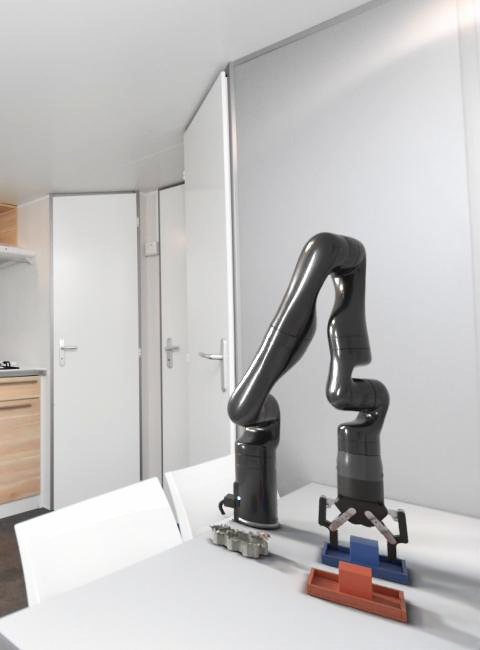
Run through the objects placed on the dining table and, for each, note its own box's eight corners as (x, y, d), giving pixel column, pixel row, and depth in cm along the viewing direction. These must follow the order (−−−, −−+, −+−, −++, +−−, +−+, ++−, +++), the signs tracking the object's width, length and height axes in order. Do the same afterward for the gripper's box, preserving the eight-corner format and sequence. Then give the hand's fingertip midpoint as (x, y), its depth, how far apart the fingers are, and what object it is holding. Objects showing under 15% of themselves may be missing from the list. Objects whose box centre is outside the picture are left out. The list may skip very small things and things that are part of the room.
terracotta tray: (306, 593, 85) (306, 583, 85) (311, 576, 92) (311, 566, 92) (406, 623, 76) (406, 612, 77) (403, 601, 83) (403, 590, 84)
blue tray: (321, 563, 98) (321, 554, 98) (324, 549, 105) (324, 541, 105) (408, 585, 89) (408, 575, 90) (405, 568, 96) (405, 560, 97)
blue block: (350, 563, 97) (349, 540, 97) (350, 556, 100) (350, 534, 101) (379, 570, 94) (378, 547, 94) (379, 563, 97) (378, 540, 98)
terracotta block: (339, 595, 84) (338, 568, 84) (340, 585, 87) (339, 560, 88) (372, 604, 81) (371, 577, 81) (372, 594, 84) (371, 568, 85)
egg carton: (273, 555, 101) (273, 535, 102) (250, 560, 98) (250, 540, 99) (228, 536, 111) (228, 518, 111) (205, 540, 108) (205, 522, 108)
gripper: (404, 477, 97) (408, 560, 96) (318, 465, 106) (320, 540, 105) (406, 485, 91) (410, 572, 90) (315, 471, 100) (317, 550, 99)
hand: (362, 555), depth 97 cm, fingers open, 8 cm apart
